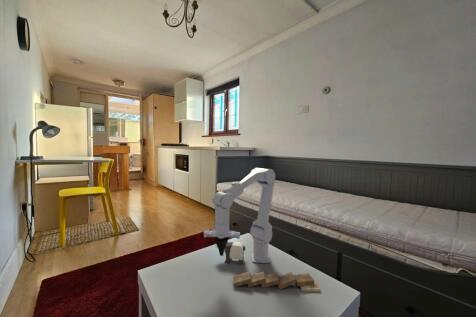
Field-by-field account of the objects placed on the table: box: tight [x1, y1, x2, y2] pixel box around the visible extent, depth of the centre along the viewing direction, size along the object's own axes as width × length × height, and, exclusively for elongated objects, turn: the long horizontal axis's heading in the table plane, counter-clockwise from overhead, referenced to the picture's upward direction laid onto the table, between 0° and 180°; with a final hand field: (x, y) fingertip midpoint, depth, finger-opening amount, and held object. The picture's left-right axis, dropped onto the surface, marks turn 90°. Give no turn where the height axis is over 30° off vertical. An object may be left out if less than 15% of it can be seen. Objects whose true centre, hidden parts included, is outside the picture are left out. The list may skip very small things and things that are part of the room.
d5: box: [293, 272, 315, 287], centre depth 79 cm, size 4×2×7 cm
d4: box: [276, 271, 296, 290], centre depth 78 cm, size 4×2×7 cm
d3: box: [260, 272, 280, 289], centre depth 78 cm, size 4×2×7 cm
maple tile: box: [299, 280, 321, 293], centre depth 77 cm, size 4×2×7 cm
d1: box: [232, 271, 252, 288], centre depth 78 cm, size 4×2×7 cm
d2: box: [247, 271, 266, 288], centre depth 79 cm, size 4×2×7 cm
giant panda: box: [215, 241, 246, 265], centre depth 94 cm, size 15×6×10 cm, turn 78°
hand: (221, 254), depth 81 cm, fingers closed
